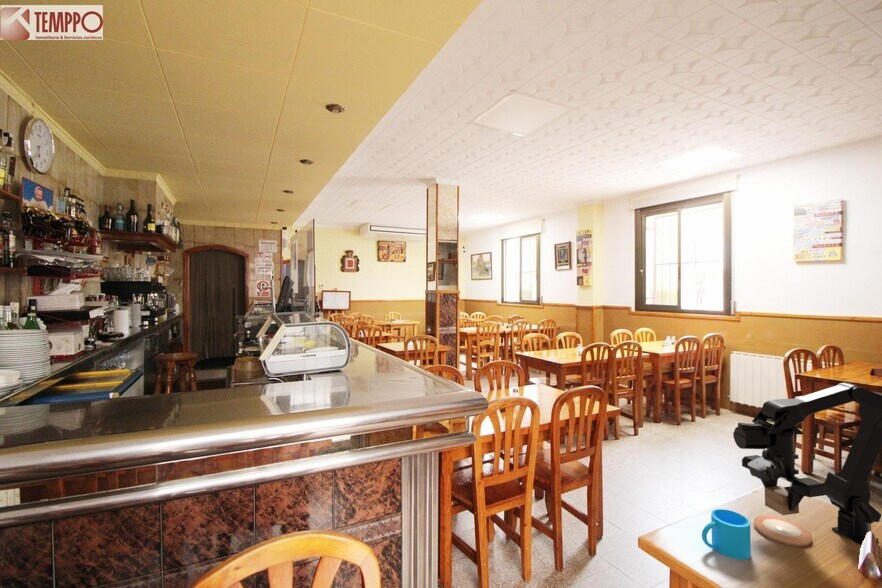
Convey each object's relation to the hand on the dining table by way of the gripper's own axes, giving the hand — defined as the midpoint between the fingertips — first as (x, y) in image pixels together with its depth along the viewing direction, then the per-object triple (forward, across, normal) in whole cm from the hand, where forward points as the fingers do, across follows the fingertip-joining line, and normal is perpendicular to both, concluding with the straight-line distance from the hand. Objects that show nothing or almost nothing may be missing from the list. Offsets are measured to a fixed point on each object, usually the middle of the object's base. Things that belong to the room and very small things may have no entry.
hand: (781, 505), depth 108 cm
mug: (+8, +3, -21) cm, 23 cm away
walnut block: (+1, 0, 0) cm, 1 cm away
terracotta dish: (+7, 0, 0) cm, 7 cm away
